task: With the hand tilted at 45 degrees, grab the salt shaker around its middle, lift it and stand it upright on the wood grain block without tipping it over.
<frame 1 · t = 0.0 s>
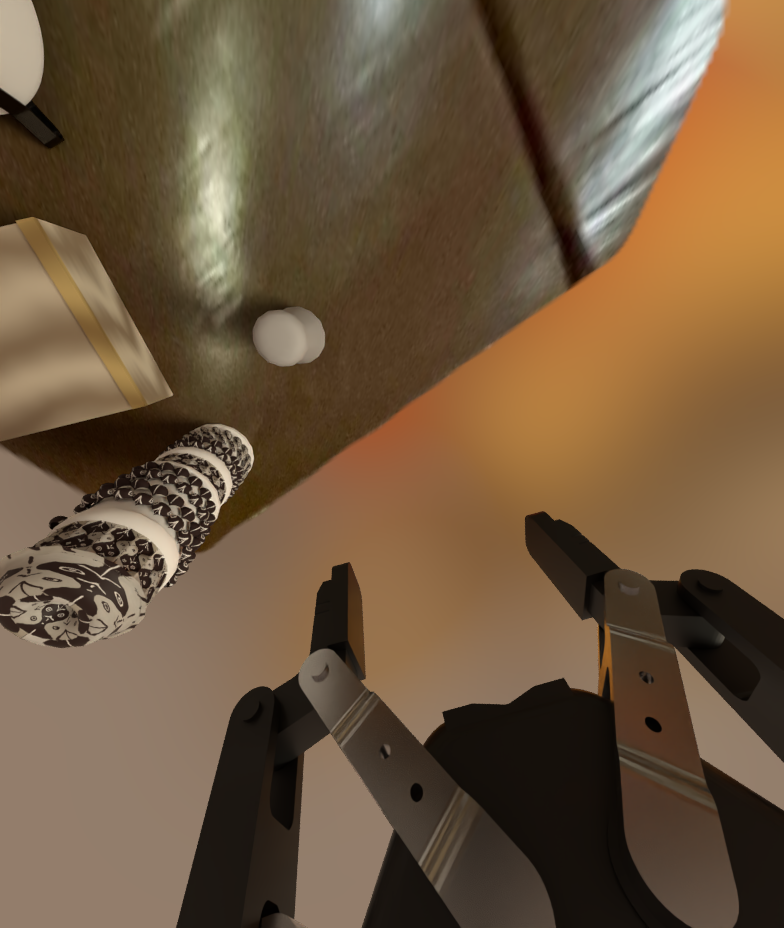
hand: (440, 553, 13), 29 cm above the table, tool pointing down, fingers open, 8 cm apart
wood grain block: (61, 341, 32), on the table
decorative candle: (221, 453, 40), on the table
salt shaker: (301, 335, 35), on the table
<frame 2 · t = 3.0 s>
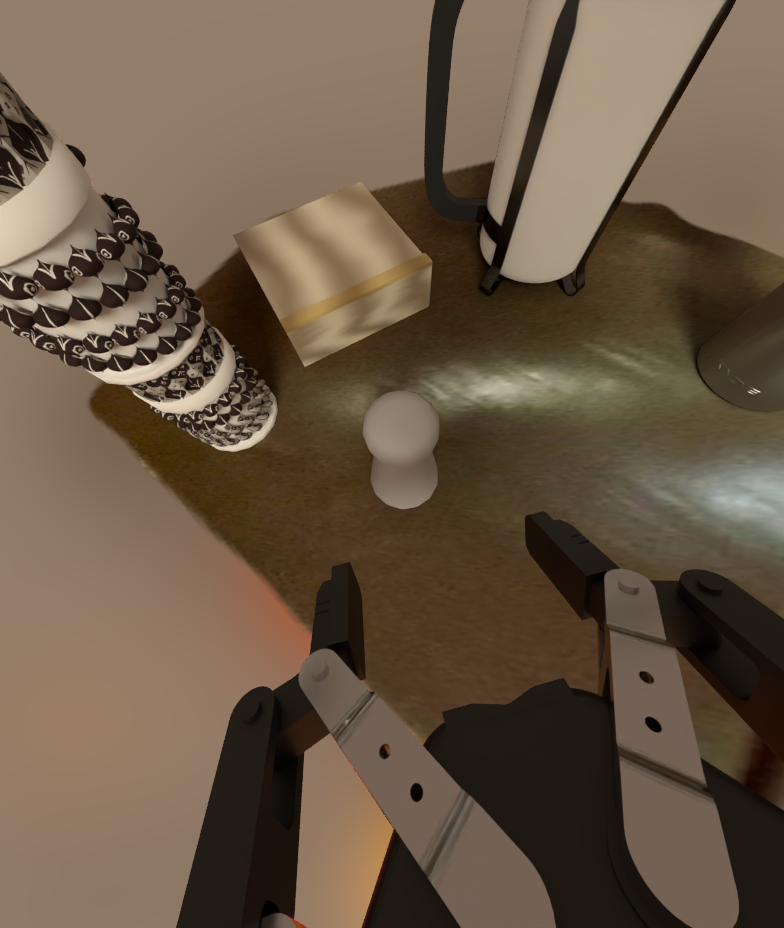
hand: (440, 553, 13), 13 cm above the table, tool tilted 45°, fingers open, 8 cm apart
coffee press: (514, 266, 36), on the table
wood grain block: (338, 290, 36), on the table
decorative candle: (239, 415, 31), on the table
salt shaker: (404, 483, 28), on the table
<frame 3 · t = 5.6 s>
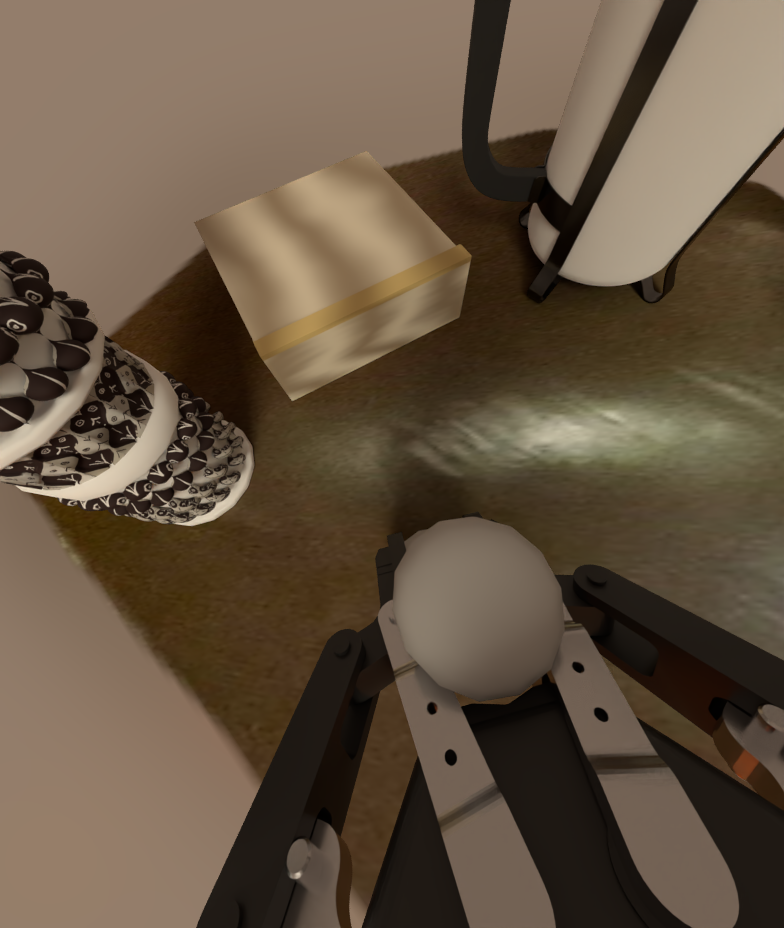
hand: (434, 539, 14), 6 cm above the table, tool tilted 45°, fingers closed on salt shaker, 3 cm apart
coffee press: (569, 263, 27), on the table
wood grain block: (337, 296, 27), on the table
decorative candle: (201, 470, 23), on the table
salt shaker: (435, 578, 19), on the table, touching gripper
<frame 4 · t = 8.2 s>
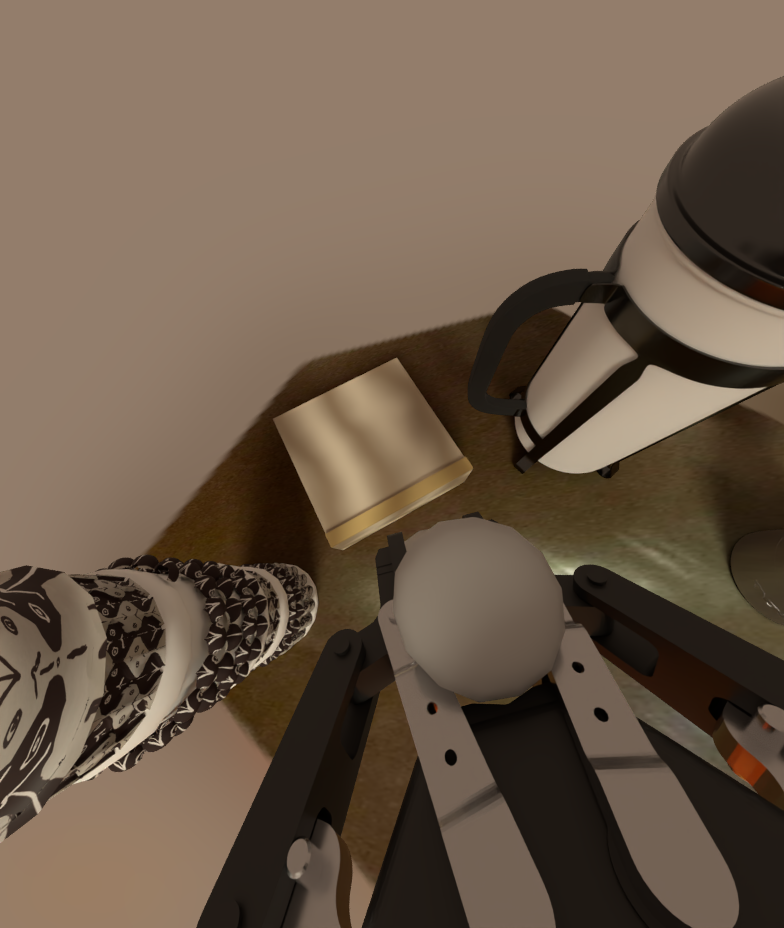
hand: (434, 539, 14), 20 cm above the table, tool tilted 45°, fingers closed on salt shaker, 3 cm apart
coffee press: (546, 435, 36), on the table
wood grain block: (373, 458, 37), on the table
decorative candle: (280, 604, 32), on the table
salt shaker: (436, 578, 19), point 14 cm above the table, touching gripper
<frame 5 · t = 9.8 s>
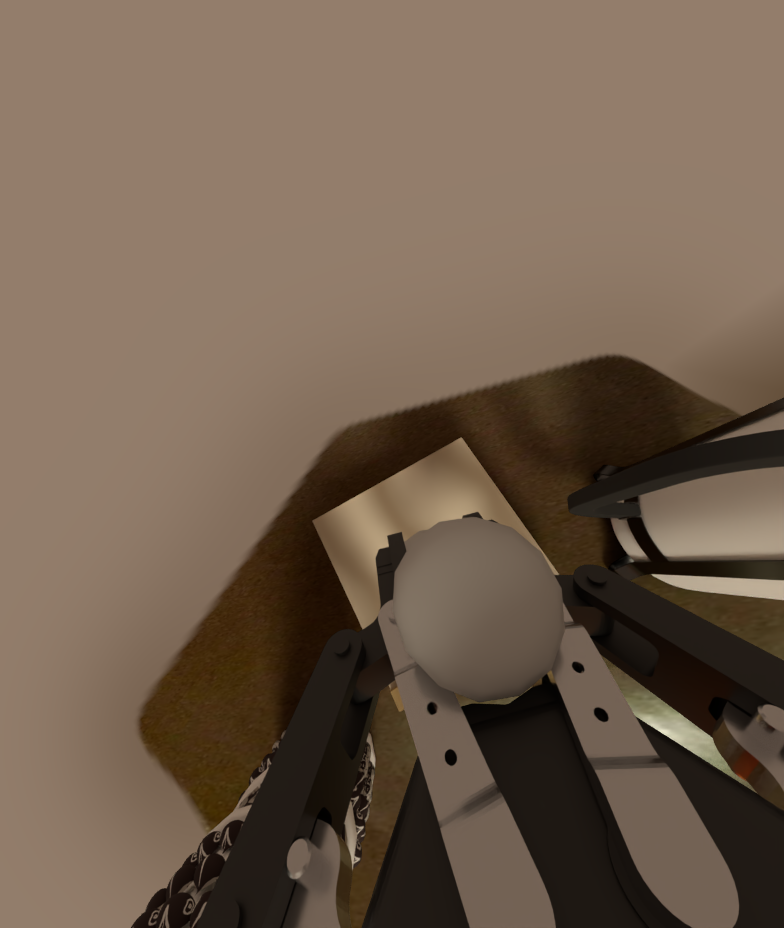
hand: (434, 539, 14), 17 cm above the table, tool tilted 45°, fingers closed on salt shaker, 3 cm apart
coffee press: (643, 527, 30), on the table
wood grain block: (431, 556, 30), on the table
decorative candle: (326, 759, 25), on the table
salt shaker: (435, 578, 19), point 11 cm above the table, touching gripper
when the fingers open (12 cm above the table, at t = 11.0 s): salt shaker drops 1 cm, resting on wood grain block.
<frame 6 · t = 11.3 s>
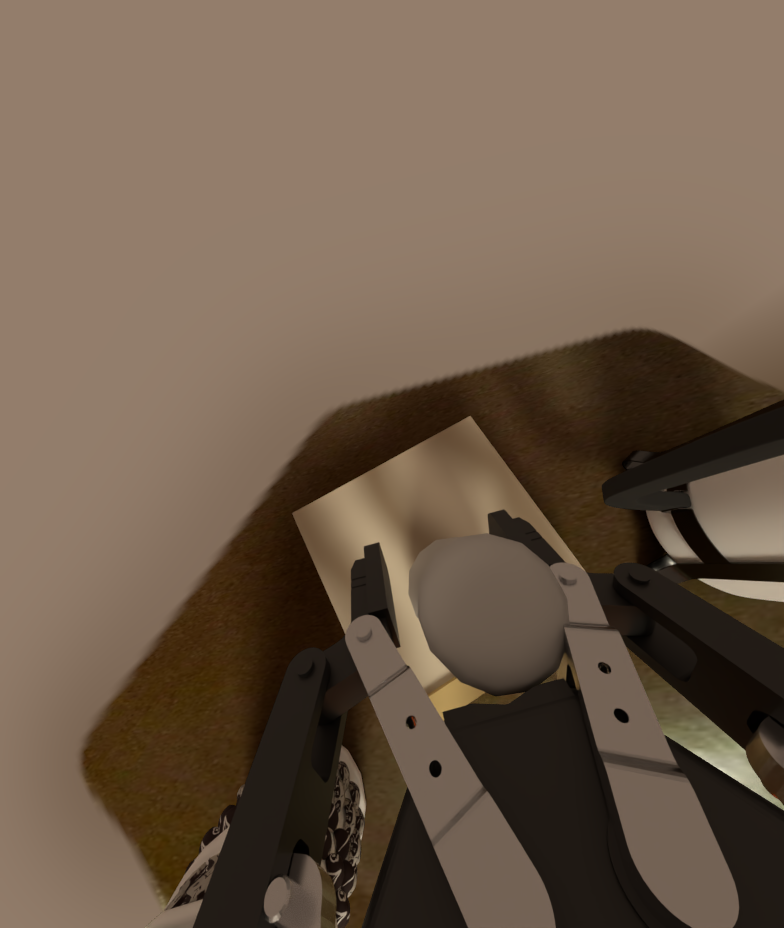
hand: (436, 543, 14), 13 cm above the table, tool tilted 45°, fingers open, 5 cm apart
coffee press: (682, 523, 25), on the table
wood grain block: (433, 557, 26), on the table
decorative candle: (306, 803, 21), on the table
salt shaker: (452, 584, 20), point 5 cm above the table, touching wood grain block, gripper
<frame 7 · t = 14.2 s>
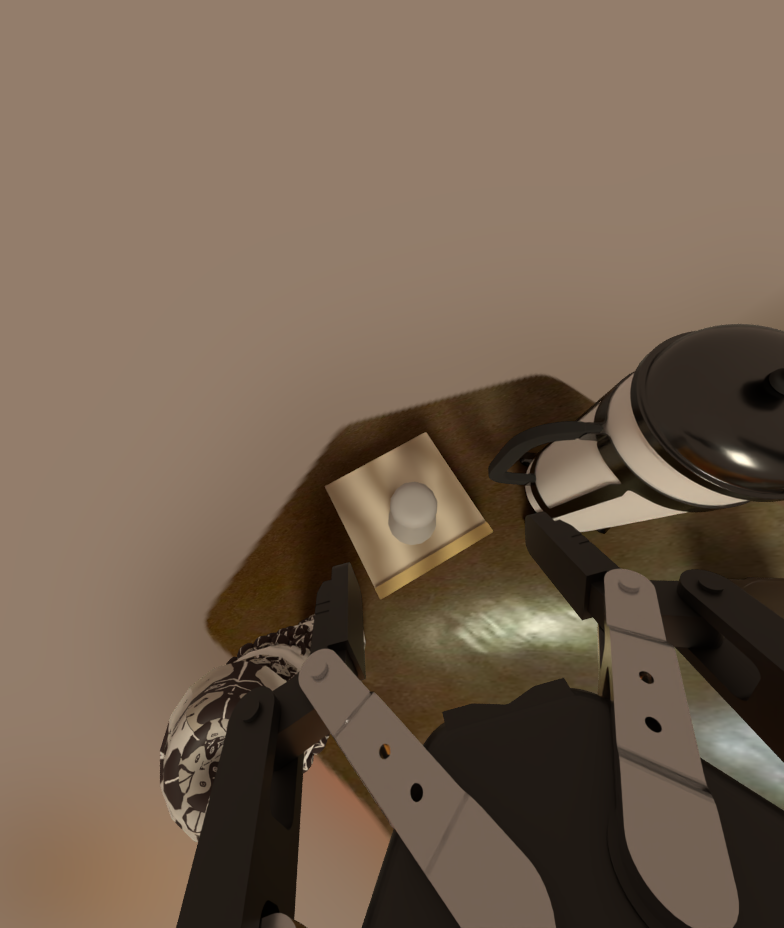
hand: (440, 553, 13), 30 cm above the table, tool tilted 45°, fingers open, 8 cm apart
coffee press: (551, 494, 43), on the table
wood grain block: (405, 514, 43), on the table
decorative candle: (333, 642, 39), on the table
salt shaker: (411, 523, 38), point 5 cm above the table, touching wood grain block
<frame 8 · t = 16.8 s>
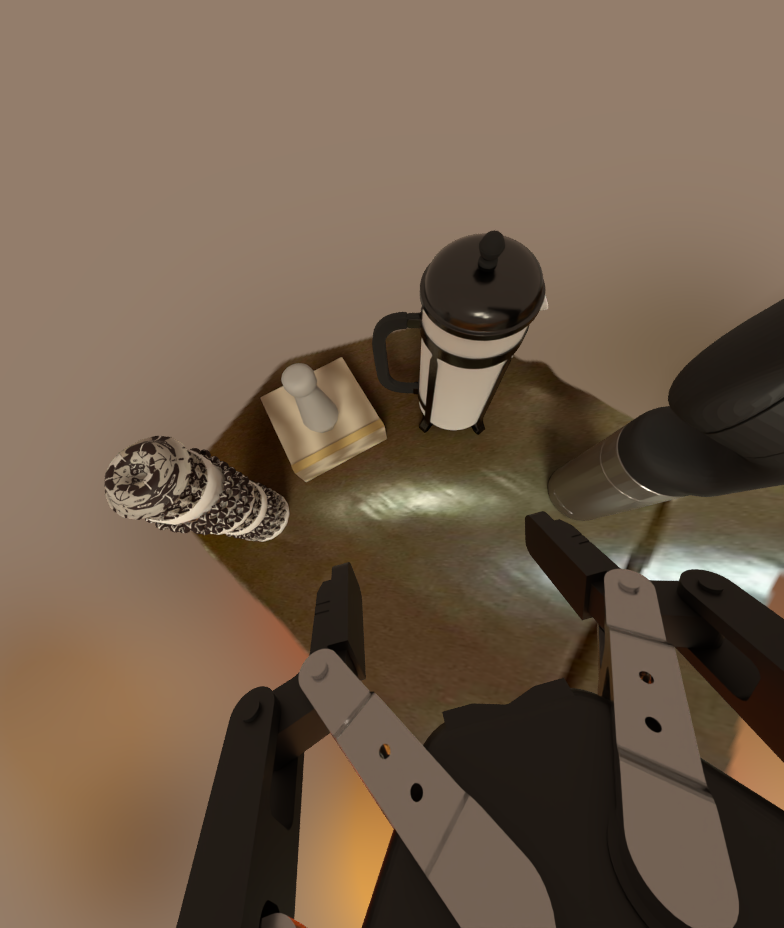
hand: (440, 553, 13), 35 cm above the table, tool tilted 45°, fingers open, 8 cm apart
coffee press: (443, 408, 54), on the table
wood grain block: (328, 424, 55), on the table
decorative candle: (265, 515, 50), on the table
salt shaker: (324, 422, 49), point 5 cm above the table, touching wood grain block
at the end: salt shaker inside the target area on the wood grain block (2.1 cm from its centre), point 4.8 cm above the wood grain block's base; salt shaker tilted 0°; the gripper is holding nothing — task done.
